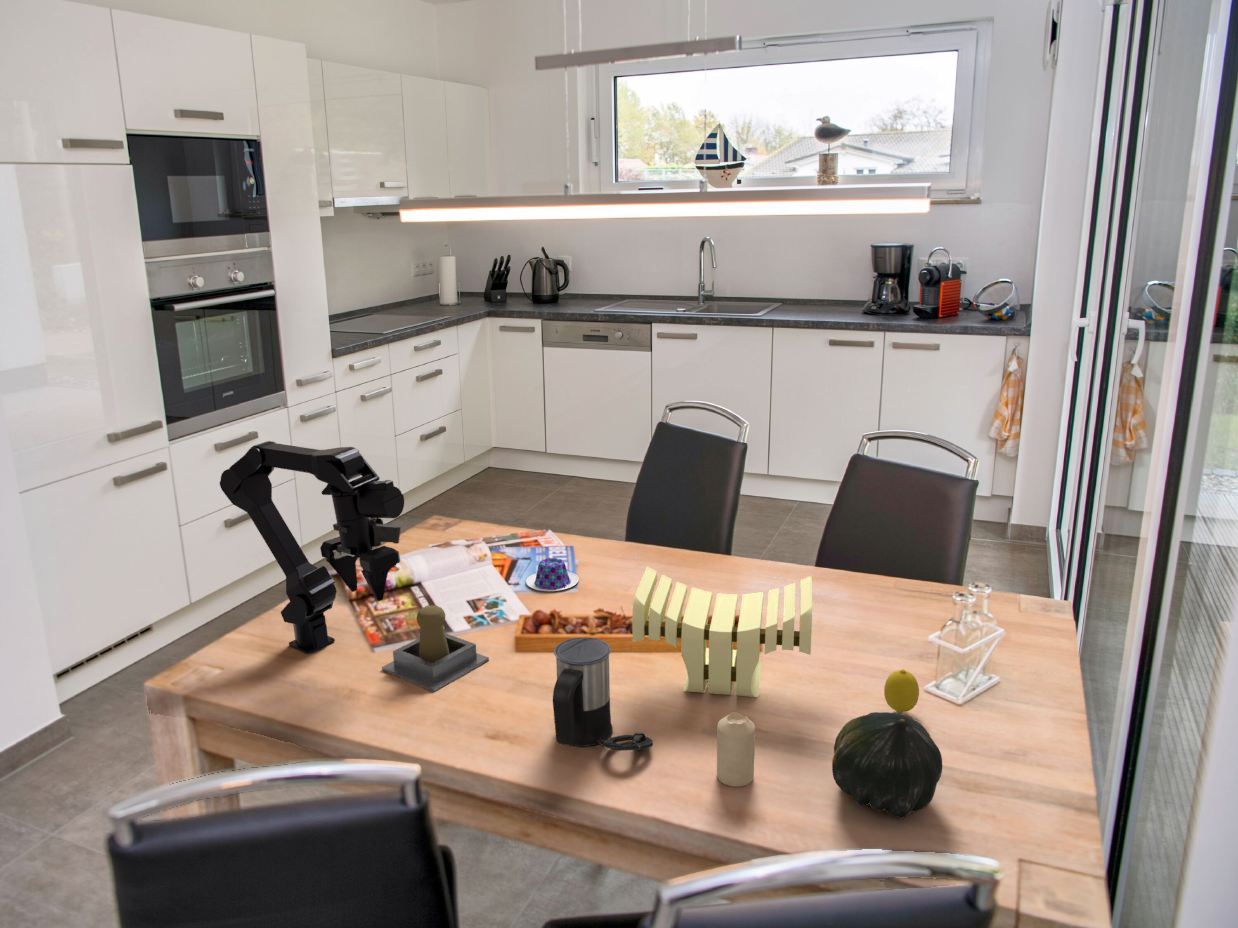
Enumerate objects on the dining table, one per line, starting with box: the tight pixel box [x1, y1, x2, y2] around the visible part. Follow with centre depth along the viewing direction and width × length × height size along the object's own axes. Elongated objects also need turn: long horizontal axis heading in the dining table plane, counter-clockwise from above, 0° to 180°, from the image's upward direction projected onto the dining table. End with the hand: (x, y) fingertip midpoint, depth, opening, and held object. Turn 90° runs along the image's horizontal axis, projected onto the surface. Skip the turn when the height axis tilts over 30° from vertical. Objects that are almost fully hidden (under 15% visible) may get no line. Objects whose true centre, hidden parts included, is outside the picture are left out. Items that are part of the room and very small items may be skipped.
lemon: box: [883, 668, 920, 714], centre depth 151 cm, size 6×6×8 cm
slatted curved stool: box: [631, 565, 813, 698], centre depth 162 cm, size 30×16×18 cm, turn 79°
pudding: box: [525, 557, 580, 592], centre depth 207 cm, size 12×12×5 cm
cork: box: [416, 605, 450, 663], centre depth 169 cm, size 6×6×11 cm
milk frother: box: [552, 637, 654, 751], centre depth 144 cm, size 14×16×15 cm
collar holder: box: [381, 632, 490, 693], centre depth 171 cm, size 14×14×4 cm
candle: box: [716, 711, 756, 788], centre depth 135 cm, size 6×6×10 cm
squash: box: [831, 711, 943, 819], centre depth 129 cm, size 14×15×15 cm
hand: (367, 595), depth 171 cm, fingers open, 9 cm apart
